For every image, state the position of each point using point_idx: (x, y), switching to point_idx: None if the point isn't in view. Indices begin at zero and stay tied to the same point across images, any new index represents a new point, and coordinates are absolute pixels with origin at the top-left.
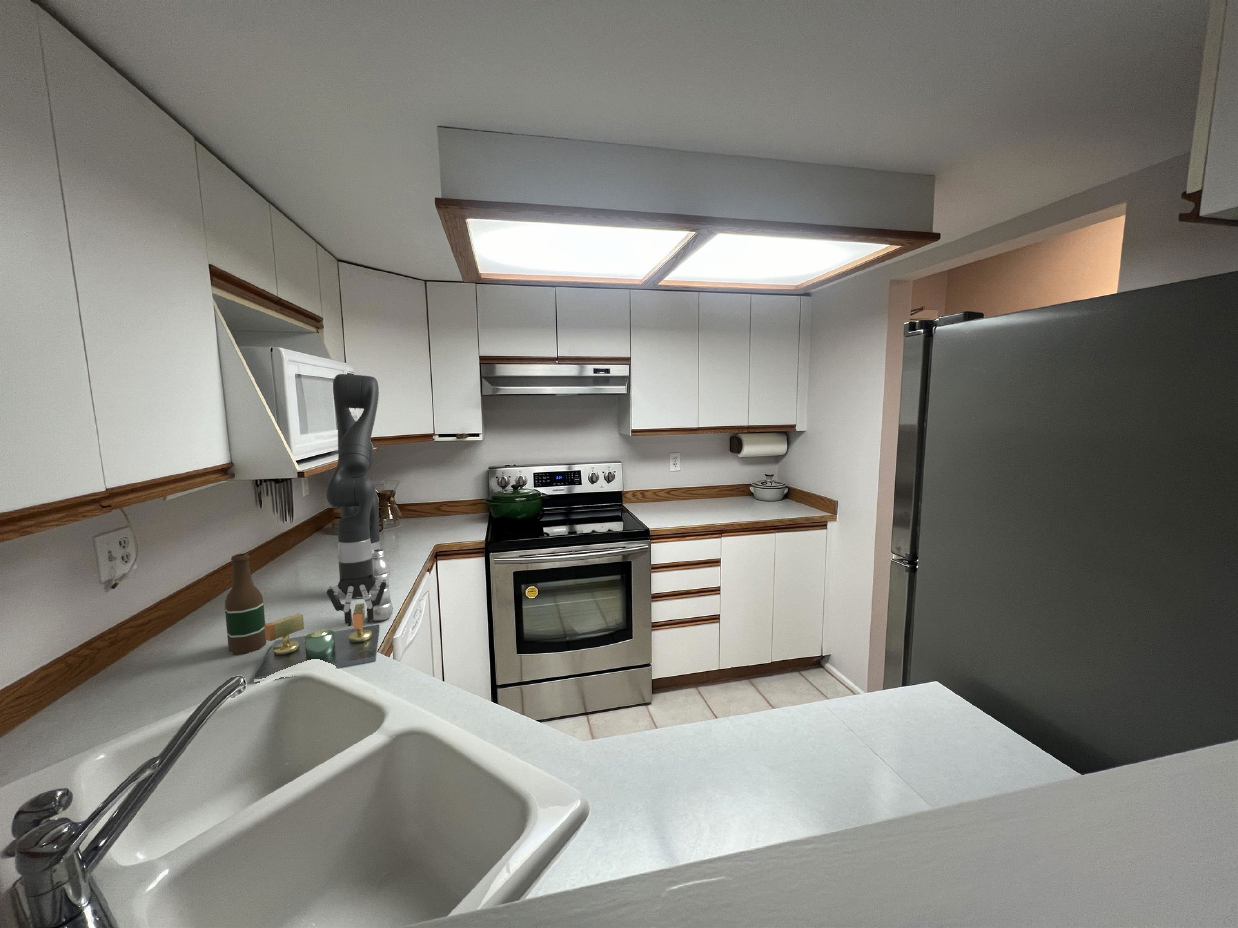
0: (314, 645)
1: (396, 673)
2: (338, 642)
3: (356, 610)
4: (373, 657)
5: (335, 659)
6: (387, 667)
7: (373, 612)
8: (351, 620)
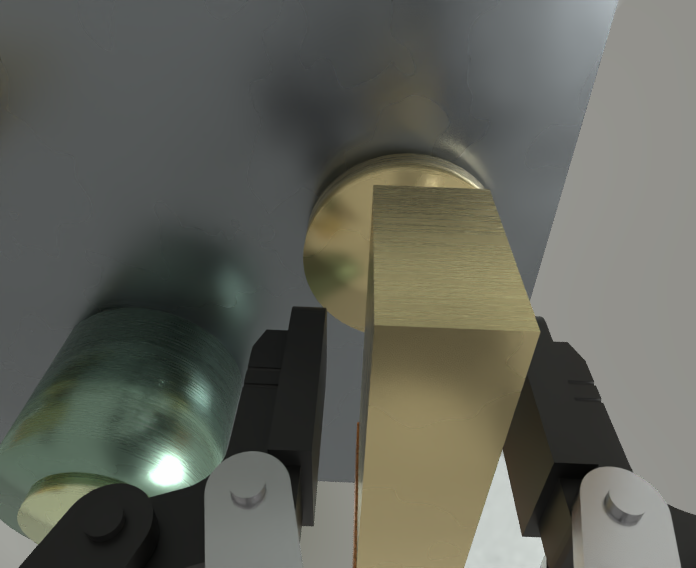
0: None
1: (533, 559)
2: (222, 228)
3: (391, 529)
4: None
5: None
6: (510, 519)
7: (599, 404)
8: (323, 362)
